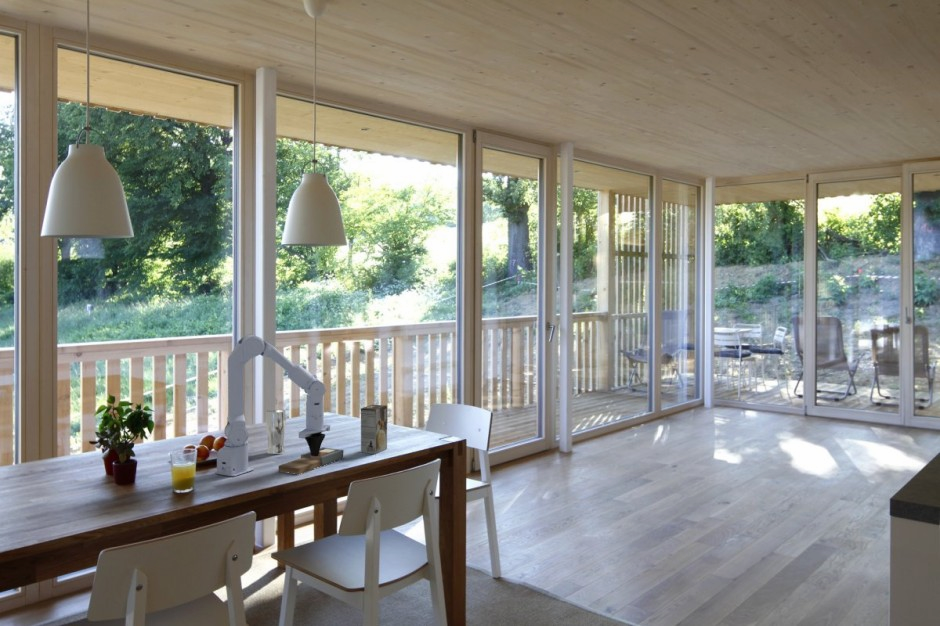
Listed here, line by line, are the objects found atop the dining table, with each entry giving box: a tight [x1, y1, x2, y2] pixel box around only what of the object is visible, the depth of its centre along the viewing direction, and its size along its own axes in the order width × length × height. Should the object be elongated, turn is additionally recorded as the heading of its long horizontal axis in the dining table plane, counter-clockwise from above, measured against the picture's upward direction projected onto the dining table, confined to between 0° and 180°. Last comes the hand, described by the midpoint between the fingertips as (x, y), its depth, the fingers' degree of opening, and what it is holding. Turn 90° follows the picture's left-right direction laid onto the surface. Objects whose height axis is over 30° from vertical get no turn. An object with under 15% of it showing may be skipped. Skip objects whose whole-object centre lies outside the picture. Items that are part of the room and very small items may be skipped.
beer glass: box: [265, 408, 287, 455], centre depth 261 cm, size 7×7×15 cm
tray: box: [300, 446, 344, 467], centre depth 251 cm, size 12×9×3 cm
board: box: [278, 457, 323, 475], centre depth 240 cm, size 12×8×2 cm, turn 155°
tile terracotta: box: [311, 451, 328, 460], centre depth 249 cm, size 4×4×2 cm
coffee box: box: [360, 404, 388, 455], centre depth 266 cm, size 9×6×16 cm
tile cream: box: [320, 448, 335, 454], centre depth 253 cm, size 4×4×2 cm
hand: (314, 455), depth 246 cm, fingers closed
